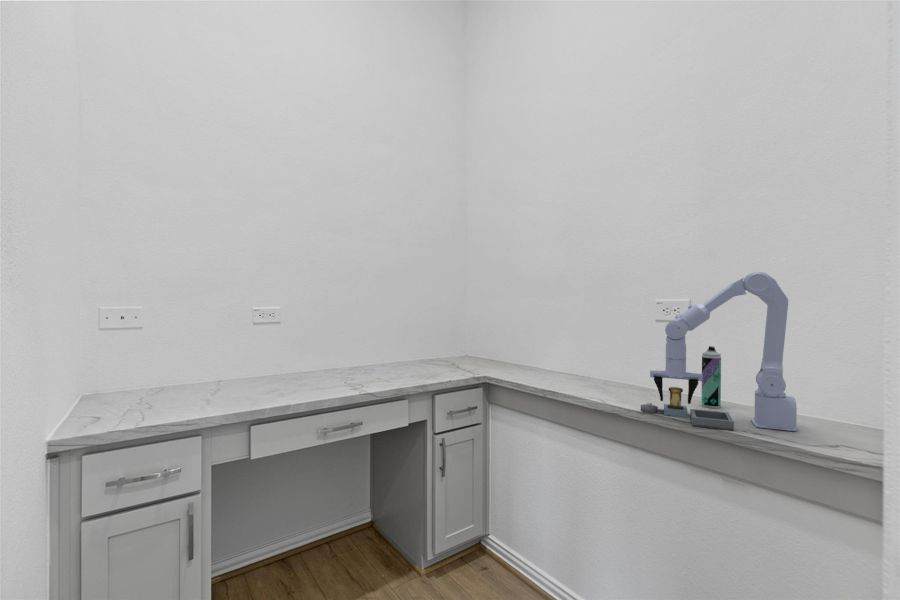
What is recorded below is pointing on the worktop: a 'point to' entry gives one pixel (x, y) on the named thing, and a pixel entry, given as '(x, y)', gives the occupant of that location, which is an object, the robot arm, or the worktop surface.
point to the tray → (711, 419)
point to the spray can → (711, 378)
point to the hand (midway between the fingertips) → (675, 401)
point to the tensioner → (665, 410)
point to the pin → (675, 397)
